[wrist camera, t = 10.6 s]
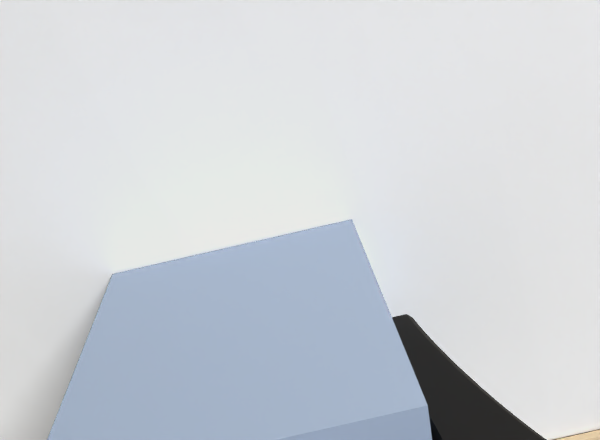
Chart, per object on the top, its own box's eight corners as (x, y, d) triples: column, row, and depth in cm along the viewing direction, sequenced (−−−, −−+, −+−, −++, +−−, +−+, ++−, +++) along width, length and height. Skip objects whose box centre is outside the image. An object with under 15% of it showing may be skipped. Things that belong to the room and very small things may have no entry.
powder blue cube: (352, 219, 11) (427, 405, 6) (383, 395, 13) (455, 621, 9) (112, 274, 11) (25, 496, 7) (186, 440, 13) (157, 687, 9)
